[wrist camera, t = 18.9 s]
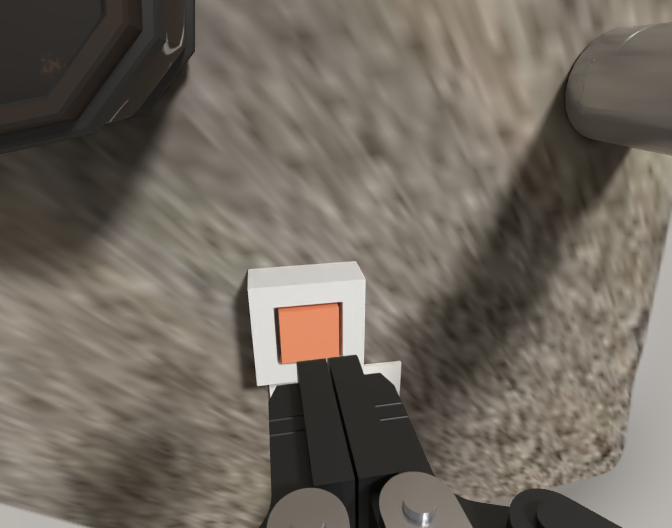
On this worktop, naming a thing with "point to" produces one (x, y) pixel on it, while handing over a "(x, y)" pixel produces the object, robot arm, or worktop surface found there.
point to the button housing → (303, 289)
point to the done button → (309, 332)
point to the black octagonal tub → (86, 64)
